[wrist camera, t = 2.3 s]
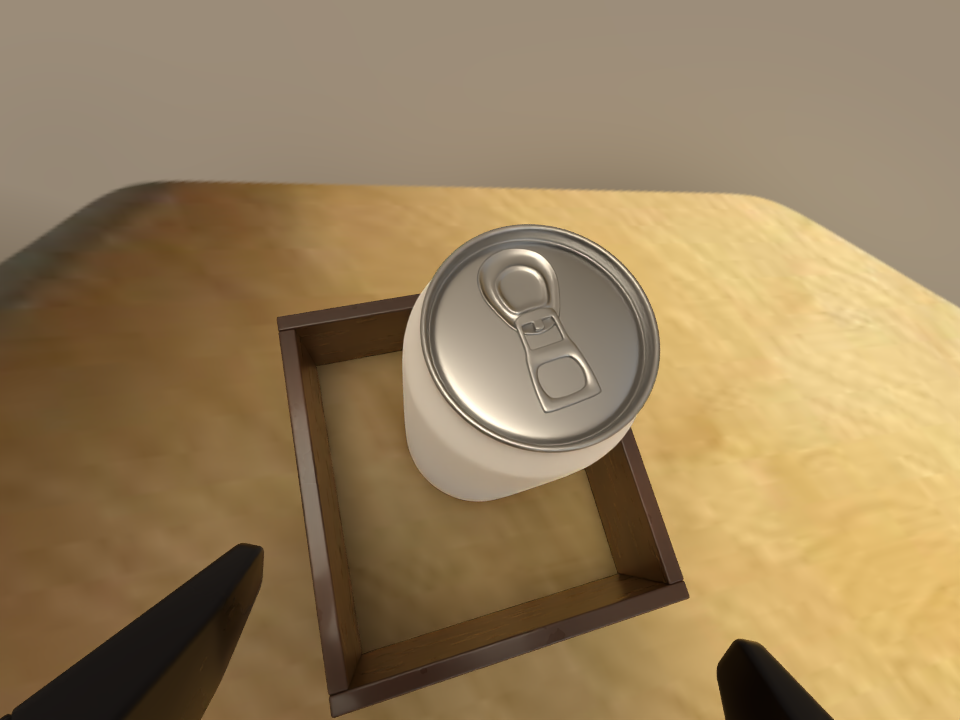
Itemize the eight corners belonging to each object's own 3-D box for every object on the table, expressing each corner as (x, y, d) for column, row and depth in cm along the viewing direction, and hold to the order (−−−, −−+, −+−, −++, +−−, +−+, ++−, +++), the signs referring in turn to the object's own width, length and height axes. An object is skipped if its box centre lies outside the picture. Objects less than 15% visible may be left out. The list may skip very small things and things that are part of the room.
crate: (634, 584, 21) (691, 598, 17) (349, 675, 18) (331, 719, 14) (547, 311, 25) (575, 267, 20) (301, 356, 22) (275, 316, 18)
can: (513, 346, 24) (604, 183, 13) (566, 471, 22) (728, 412, 11) (386, 388, 22) (362, 245, 11) (433, 526, 21) (461, 523, 9)
